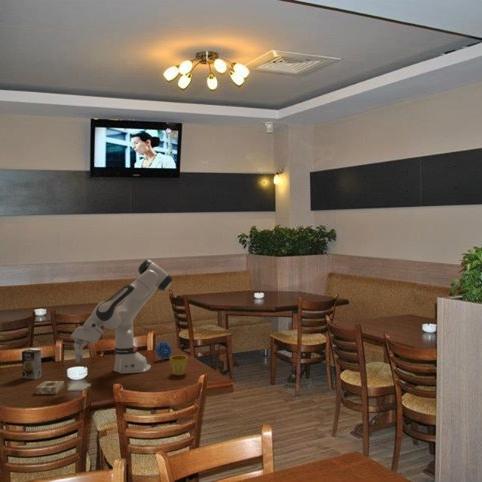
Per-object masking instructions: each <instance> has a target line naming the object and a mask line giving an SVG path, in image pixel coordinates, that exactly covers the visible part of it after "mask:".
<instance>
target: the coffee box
mask: <svg viewBox="0 0 482 482" xmlns="http://www.w3.org/2000/svg"><path fill="white" fill-rule="evenodd" d="M21 366H22V378H23V379H29V380H36V379H37V380H38V379H39V378H41V377H42V351H41V350H39V349H31V348H29V349H25V350H22V351H21Z"/></svg>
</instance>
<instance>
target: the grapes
mask: <svg viewBox="0 0 482 482" xmlns="http://www.w3.org/2000/svg"><path fill="white" fill-rule="evenodd" d="M155 347H156V348H155V351H154V352H155V353H156V356H157V357H158V358H161V359H162V360H166V359H170V357H171V355H172V354H173V350H172V348H173V347H172V346H171V345H169V342H167V341H165V342H164V341H160V342H159V343H157V344H156V345H155Z"/></svg>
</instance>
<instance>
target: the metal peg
mask: <svg viewBox="0 0 482 482" xmlns="http://www.w3.org/2000/svg"><path fill="white" fill-rule="evenodd" d="M74 343H75V342H74ZM74 343H73V345H75V347H74V360H75V361H74V362H75V363H82V362H83V361H84V360H83V359H84V357H83V349H80V348H79V346H80V345H81V344H82V343H83V342H78V343H75V344H74Z"/></svg>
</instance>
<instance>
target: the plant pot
mask: <svg viewBox="0 0 482 482" xmlns="http://www.w3.org/2000/svg"><path fill="white" fill-rule="evenodd" d="M169 364H170V366H171V369H172V374H173V375H174V376H182V375H185V373H186V367H187V364H188V356H186V355H173V356H170V357H169Z"/></svg>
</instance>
